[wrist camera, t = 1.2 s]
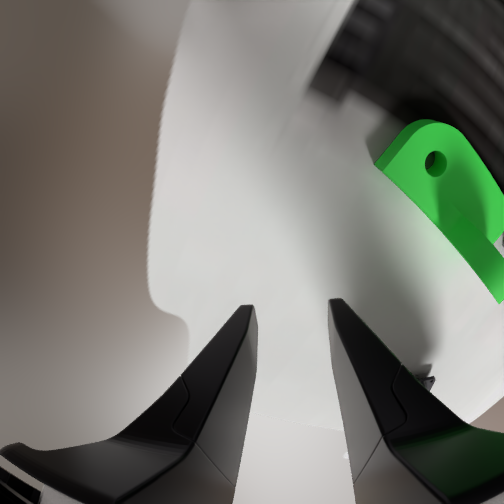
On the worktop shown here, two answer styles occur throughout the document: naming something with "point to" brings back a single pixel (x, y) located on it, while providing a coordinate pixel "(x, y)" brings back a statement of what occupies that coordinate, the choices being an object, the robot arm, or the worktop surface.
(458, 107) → the worktop surface
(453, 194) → the mechanical part
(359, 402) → the robot arm
